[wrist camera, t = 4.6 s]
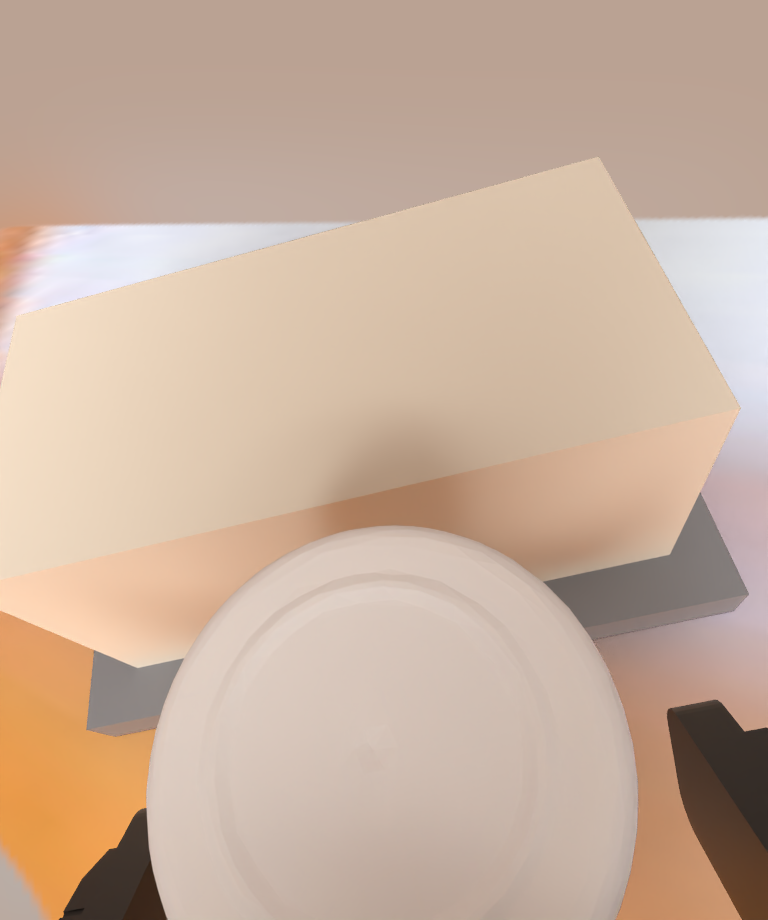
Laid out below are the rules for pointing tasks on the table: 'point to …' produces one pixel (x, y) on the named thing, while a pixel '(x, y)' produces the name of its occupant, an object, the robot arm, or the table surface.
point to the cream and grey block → (365, 425)
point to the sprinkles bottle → (392, 745)
